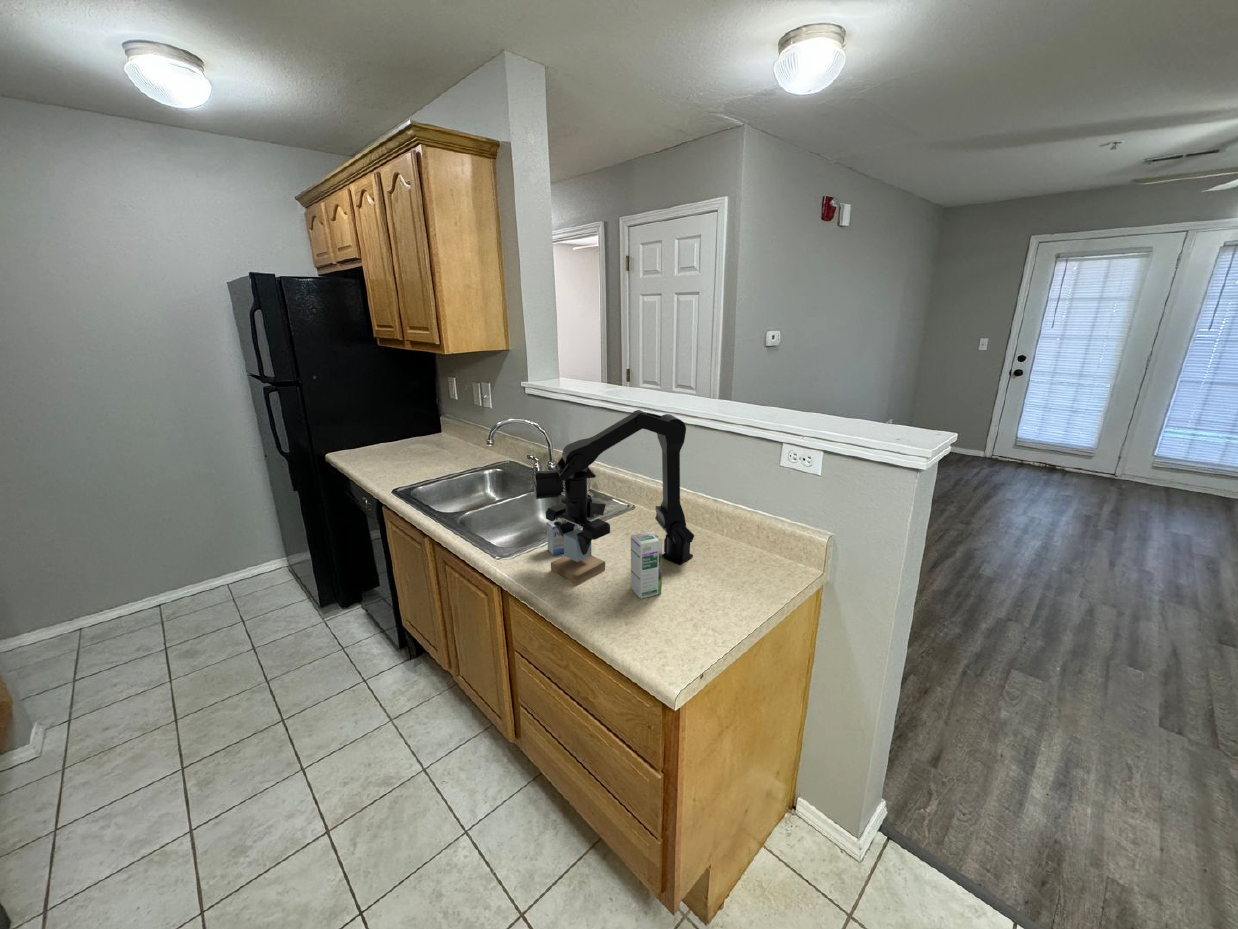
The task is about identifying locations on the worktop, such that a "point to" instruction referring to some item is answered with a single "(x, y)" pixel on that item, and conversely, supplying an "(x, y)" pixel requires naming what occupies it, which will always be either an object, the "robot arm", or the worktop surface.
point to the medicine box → (555, 538)
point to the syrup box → (646, 564)
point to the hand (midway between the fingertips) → (577, 551)
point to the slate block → (574, 546)
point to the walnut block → (577, 568)
